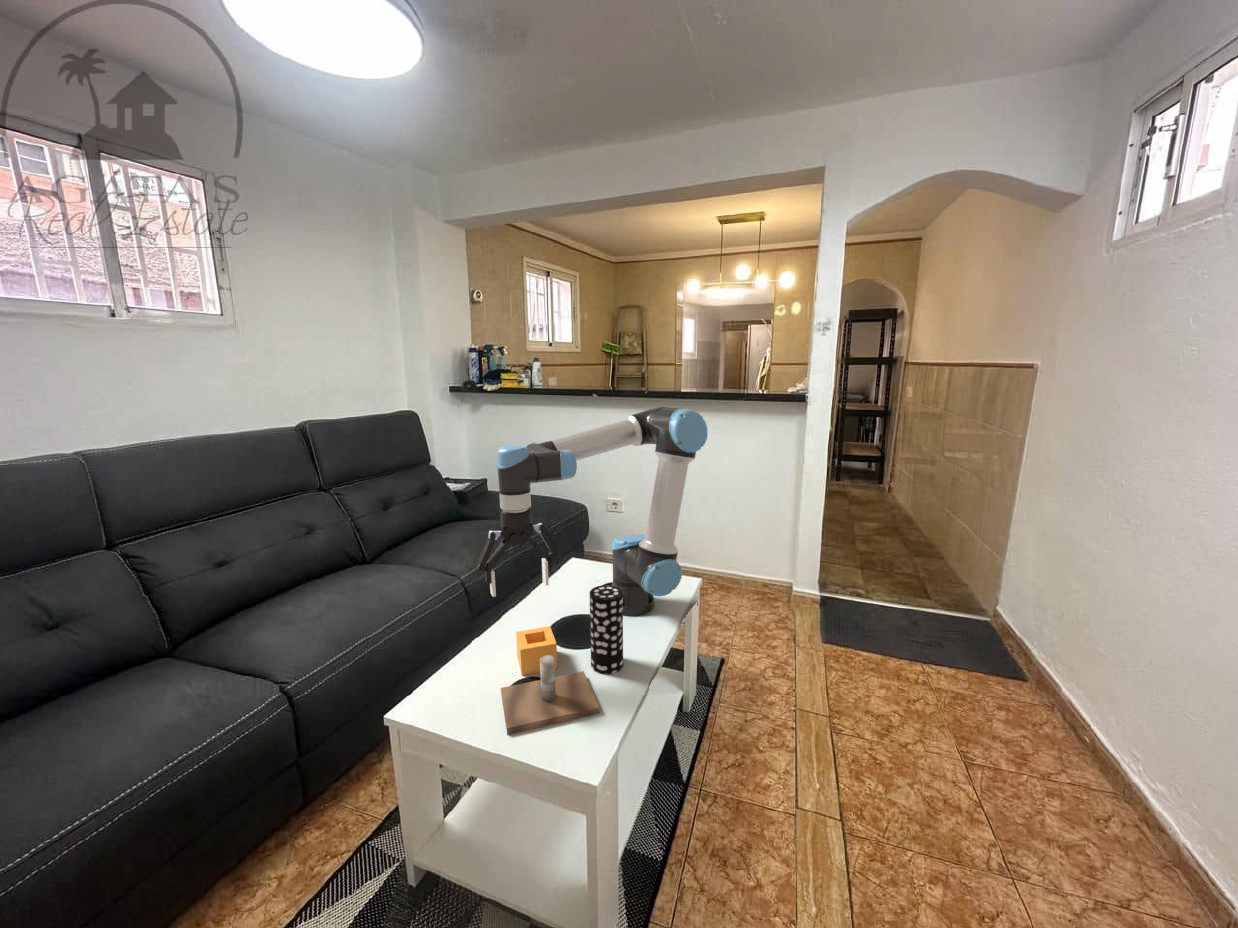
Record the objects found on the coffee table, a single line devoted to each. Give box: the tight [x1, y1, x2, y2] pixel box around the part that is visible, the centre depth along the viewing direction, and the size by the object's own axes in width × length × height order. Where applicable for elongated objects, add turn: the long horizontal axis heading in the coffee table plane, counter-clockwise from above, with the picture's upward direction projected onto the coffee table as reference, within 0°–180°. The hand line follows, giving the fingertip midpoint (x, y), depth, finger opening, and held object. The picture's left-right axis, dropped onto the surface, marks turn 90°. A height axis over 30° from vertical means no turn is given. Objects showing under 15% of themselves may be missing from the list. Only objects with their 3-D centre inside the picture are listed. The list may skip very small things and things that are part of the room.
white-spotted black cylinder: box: [589, 584, 624, 675], centre depth 124 cm, size 8×8×20 cm
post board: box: [500, 655, 600, 736], centre depth 110 cm, size 20×14×11 cm
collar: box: [515, 625, 558, 676], centre depth 127 cm, size 9×9×7 cm
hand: (520, 589), depth 124 cm, fingers open, 13 cm apart
